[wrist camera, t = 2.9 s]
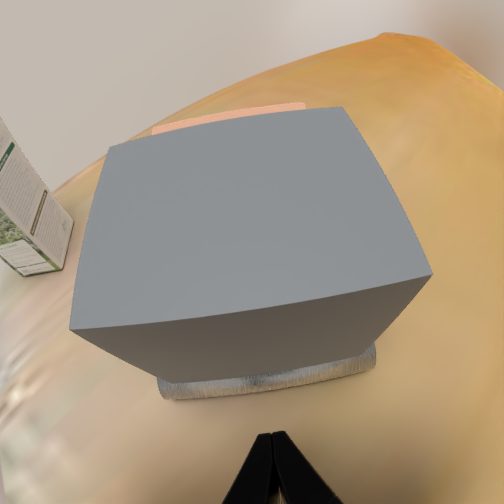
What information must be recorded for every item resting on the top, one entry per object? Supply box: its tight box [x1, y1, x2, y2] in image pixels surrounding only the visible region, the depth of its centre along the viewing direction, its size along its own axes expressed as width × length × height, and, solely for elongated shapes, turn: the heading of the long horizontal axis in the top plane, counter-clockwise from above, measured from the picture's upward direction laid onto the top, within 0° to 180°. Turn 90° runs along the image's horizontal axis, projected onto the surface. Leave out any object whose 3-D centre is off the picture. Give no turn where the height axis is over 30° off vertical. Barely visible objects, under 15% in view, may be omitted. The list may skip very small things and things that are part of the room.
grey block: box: [69, 107, 433, 384], centre depth 13 cm, size 8×10×9 cm
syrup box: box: [0, 117, 74, 277], centre depth 18 cm, size 6×6×14 cm
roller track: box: [157, 342, 376, 400], centre depth 19 cm, size 13×12×2 cm
